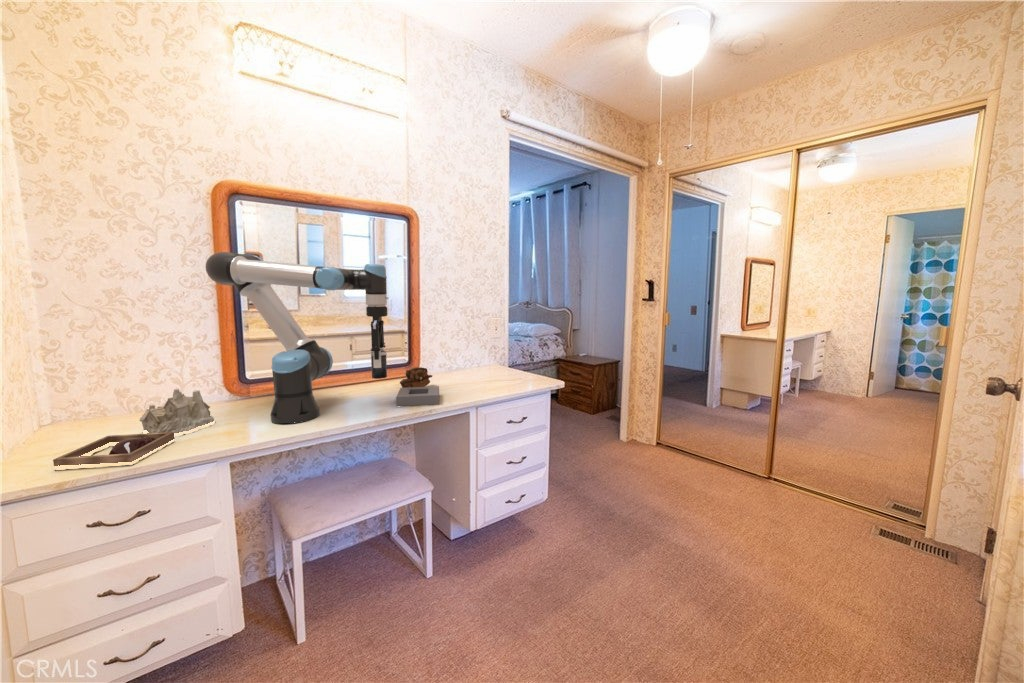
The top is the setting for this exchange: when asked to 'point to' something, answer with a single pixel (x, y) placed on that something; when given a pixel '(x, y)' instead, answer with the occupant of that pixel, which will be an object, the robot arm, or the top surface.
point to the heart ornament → (130, 445)
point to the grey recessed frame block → (418, 396)
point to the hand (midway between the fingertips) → (378, 365)
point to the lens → (381, 372)
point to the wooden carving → (416, 378)
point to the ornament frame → (74, 458)
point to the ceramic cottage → (177, 414)
